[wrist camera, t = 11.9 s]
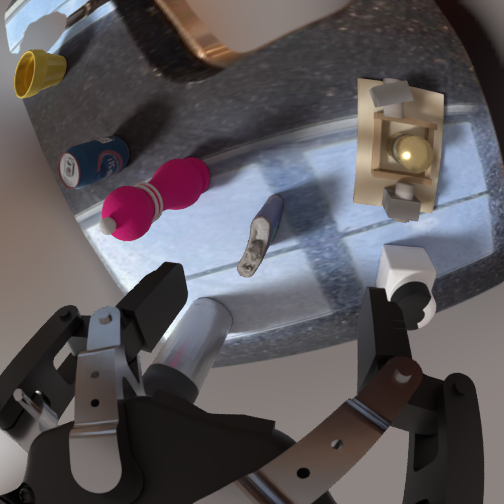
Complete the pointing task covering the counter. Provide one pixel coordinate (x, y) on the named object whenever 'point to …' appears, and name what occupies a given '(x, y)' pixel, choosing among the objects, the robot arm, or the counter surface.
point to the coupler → (410, 151)
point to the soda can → (92, 162)
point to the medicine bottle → (408, 282)
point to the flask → (261, 235)
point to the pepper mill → (153, 198)
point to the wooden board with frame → (375, 147)
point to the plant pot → (38, 72)
